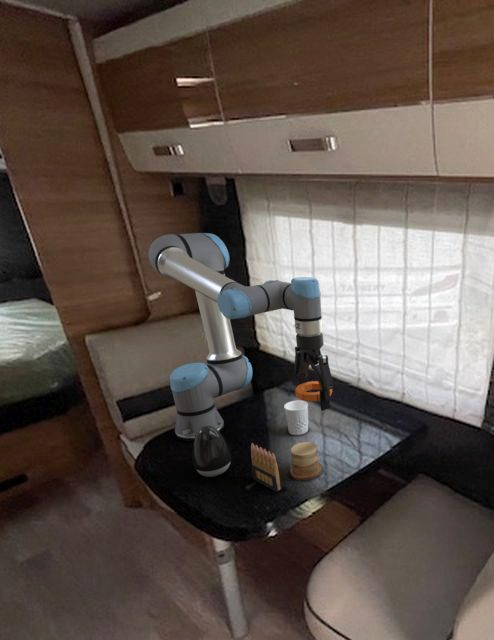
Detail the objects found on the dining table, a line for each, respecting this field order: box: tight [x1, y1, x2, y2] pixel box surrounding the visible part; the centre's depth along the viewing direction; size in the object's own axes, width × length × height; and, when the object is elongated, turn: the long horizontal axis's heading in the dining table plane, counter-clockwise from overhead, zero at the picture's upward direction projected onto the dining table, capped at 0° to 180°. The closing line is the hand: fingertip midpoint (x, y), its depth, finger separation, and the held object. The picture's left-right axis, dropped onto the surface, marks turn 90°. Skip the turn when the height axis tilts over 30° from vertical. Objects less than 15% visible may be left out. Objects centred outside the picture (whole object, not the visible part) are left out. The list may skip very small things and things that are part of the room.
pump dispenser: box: [192, 425, 232, 478], centre depth 121 cm, size 10×10×15 cm
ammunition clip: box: [250, 442, 283, 493], centre depth 117 cm, size 11×2×12 cm, turn 56°
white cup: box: [283, 399, 309, 436], centre depth 145 cm, size 8×8×10 cm
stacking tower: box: [289, 441, 323, 482], centre depth 123 cm, size 9×9×8 cm
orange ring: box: [294, 380, 333, 402], centre depth 126 cm, size 10×10×2 cm
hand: (315, 403), depth 128 cm, fingers closed on orange ring, 10 cm apart
